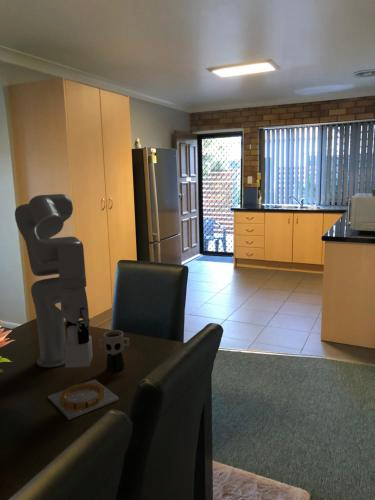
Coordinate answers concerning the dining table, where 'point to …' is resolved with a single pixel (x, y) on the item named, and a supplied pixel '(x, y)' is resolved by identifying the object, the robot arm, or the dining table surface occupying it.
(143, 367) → the dining table surface
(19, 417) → the dining table surface
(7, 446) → the dining table surface
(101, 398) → the white square ringed board
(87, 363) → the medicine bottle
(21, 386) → the dining table surface
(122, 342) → the character mug
